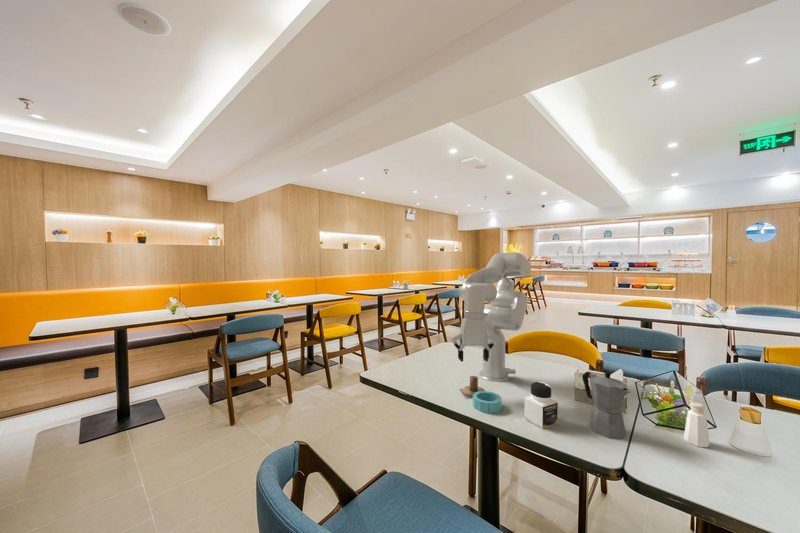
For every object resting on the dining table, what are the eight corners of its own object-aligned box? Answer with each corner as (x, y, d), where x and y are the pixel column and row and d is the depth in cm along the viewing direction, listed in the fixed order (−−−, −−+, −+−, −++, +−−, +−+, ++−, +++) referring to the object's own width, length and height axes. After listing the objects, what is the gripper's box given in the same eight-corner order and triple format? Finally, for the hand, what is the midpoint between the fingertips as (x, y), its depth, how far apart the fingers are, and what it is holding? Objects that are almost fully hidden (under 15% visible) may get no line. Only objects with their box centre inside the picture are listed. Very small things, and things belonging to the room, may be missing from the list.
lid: (480, 388, 122) (480, 373, 122) (488, 397, 114) (488, 381, 114) (459, 389, 122) (459, 373, 122) (466, 398, 113) (466, 381, 113)
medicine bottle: (542, 429, 93) (543, 390, 93) (523, 418, 100) (524, 382, 100) (557, 423, 97) (558, 386, 97) (538, 413, 103) (538, 378, 103)
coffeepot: (641, 440, 88) (641, 378, 88) (615, 445, 85) (616, 381, 85) (593, 414, 103) (594, 361, 102) (571, 418, 100) (571, 363, 100)
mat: (480, 389, 123) (480, 388, 123) (489, 399, 114) (489, 397, 114) (459, 390, 122) (459, 388, 122) (465, 400, 113) (466, 398, 113)
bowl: (494, 401, 112) (494, 390, 112) (505, 414, 103) (506, 402, 103) (469, 402, 111) (469, 391, 111) (478, 415, 102) (478, 403, 102)
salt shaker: (682, 434, 91) (683, 398, 91) (708, 441, 87) (709, 403, 87) (684, 443, 86) (684, 404, 86) (711, 450, 83) (712, 410, 83)
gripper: (491, 314, 122) (491, 357, 122) (449, 314, 120) (448, 357, 120) (499, 317, 114) (499, 363, 114) (454, 317, 113) (454, 363, 113)
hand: (473, 360), depth 117 cm, fingers open, 9 cm apart
